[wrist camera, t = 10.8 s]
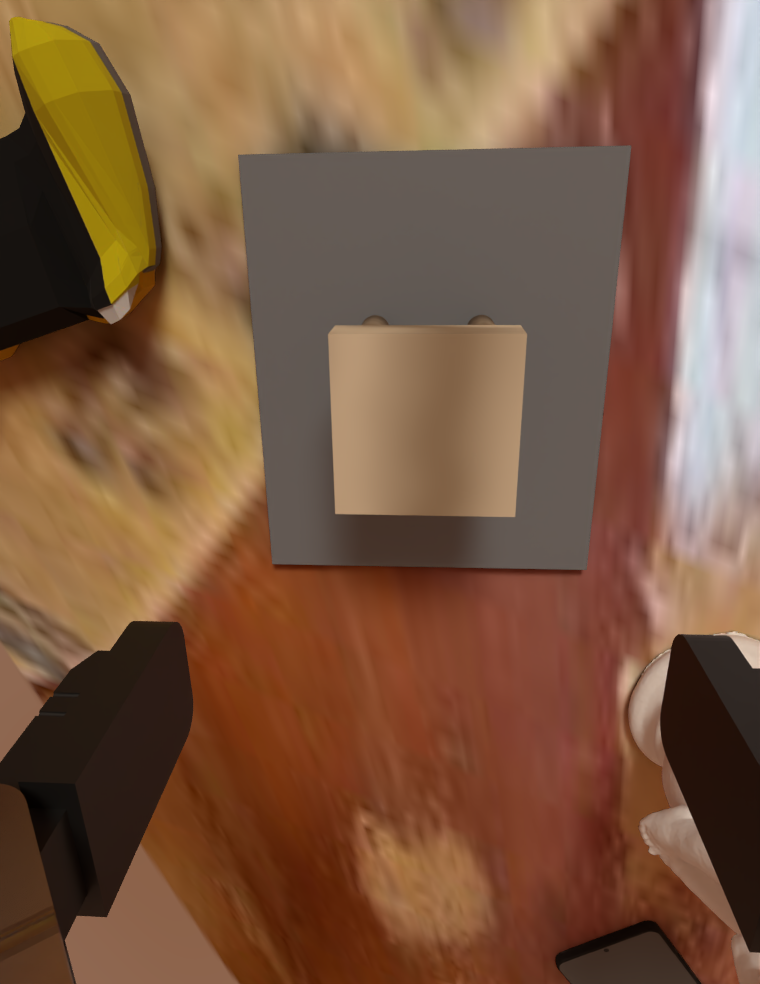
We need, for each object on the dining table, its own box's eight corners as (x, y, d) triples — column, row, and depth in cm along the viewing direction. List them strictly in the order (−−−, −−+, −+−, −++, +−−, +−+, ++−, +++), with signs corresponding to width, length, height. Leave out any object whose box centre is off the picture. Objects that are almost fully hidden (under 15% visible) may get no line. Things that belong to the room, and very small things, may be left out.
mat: (242, 155, 28) (238, 154, 28) (627, 146, 27) (631, 145, 27) (274, 558, 35) (272, 563, 34) (583, 563, 34) (586, 569, 33)
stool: (355, 450, 32) (335, 513, 25) (351, 305, 29) (328, 334, 23) (498, 452, 31) (515, 516, 25) (506, 304, 29) (527, 334, 23)
